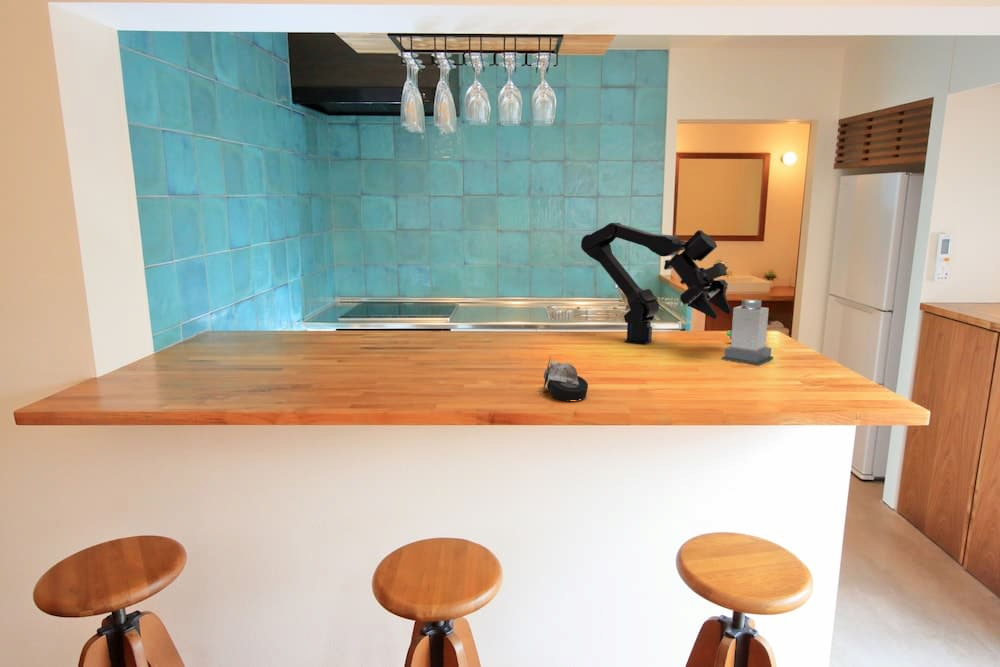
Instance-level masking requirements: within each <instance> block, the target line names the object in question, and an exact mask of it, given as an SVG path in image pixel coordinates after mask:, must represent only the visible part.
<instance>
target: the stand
mask: <svg viewBox="0 0 1000 667" xmlns="http://www.w3.org/2000/svg"><path fill="white" fill-rule="evenodd" d="M771 355H772V347H767V346H766V347H765V349H763V350H760V351H758V352H753V351H746V350H740V349H733V348H731V345H729V346H728V347H725V348H724V355H723V356H722V357H721V360H722V359H725V360H724V361H728V360H731V361H730V362H734V361H737V362H736V363H740V362H743V363H742V364H746V363H749V364H748V365H752V364H755V365H754V366H758V365H759V366H761V365H763V364H765V363H768V362H769V361H771V360H773V359H774V356H771ZM760 364H761V365H760Z"/></svg>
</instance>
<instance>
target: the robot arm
mask: <svg viewBox="0 0 1000 667" xmlns="http://www.w3.org/2000/svg"><path fill="white" fill-rule="evenodd" d="M616 239H621V240H624V241H627V242H629V243H630V242H631V243H634V244H636V245H640V246H643V247H645V248H647V249H648V250H649V251H651V252H652V253H654V254H656V255H657V256H660V257H672V258H670V259H665V260H664V265H663V266H664V267H663V270H674V272H675V273H676V274H677V276H678V277H679V278H680V281H679V283H680V284H681V285H685V286H686V287H687V289H686V290H685V291H683V292H682V293H681V294H680V295H679V297H680V298H679V299H680V302H681V303H682V304H683V305H684V306H685V305H686V306H687V307H690V308H692V309H694V310H697V311H698V312H700V313H702V314H704V315H706V316H708V317H710V318H711V319H714V320H715V319H717V318H718V314H717V313H716V311H715V309H714V307H713V306H715V307H716V308H718V309H720V310H721V311H722V312H724V313H725V314H727V315H730V314H732V313H733V312H732V310H731V307H730V306H731V305H730V304H729V302H728V299H727V296H726V293H727V291H728V286H729V284H728V282H727V281H726V280H725V279H717V278H720V277H725V276H727V275H728V273H727V270H728V266H726V264H725V263H722V262H720V261H719V262H717V263H714V264H712V266H711V267H708V268H704V267H699V266H698V264H697V263H696V261H698V262H702V261H703V260H705V258H707V257H708V256H709V255H710V254H711V253H712V252H713V251H714V250H716V248H717V247H718V246H717V242H716V241H715V240H714V238H713V237H711V236H709V235H708V234H707V233H705V232H704V231H703V230H697V231H696V232H694V234H693V235H692V236H691V237H690V238H689V239H688V240H686V241H685V240H681V239H680V237H679V236H677V235H674V234H673V235H671V234H661V233H660V234H659V233H652V232H648V231H645V230H642V229H638V228H635V227H631V226H628V225H625V224H622V223H620V222H610V223H608V224H607V225H605V226H604V227H602V228H600V229H598V230H595V231H594V232H592V233H589V234H586V235H584V236H583V237H582V239H581V241H580V242H581V244H580V248H581V250H582V252H584V253H585V254H586V255H588V256H589V257H590V258H591V259H593V260H594V261H596V262H598V263H599V264H600V265H601V266H602V268H604V270H605V272H606V273H607V274H608V276H610V278H611V279H612V280H613V282H614V283H615V284H616V285H617V287H618V288H619V289H620V290H621V292H622V293H623V294H624V296H625V297H626V299H627V305H628V308H629V310H628V311H627V312H626V313H625V314H624V315H623V318H624V319H623V320H624V322H625V323H627V326H626V339H625V340H624V342H625V343H633V344H640V345H646V344H648V343H650V342H651V341H653V327H652V326H651V325H652V324H651V323H652V322H651V321H653V320H654V318H655V315H657V314H658V313H659V310H660V303H659V301H658V299H659V298H658V297H656V296H655V295H654V293H653V291H652V290H651V289H650V288H646V289H642V288H641V287H639V285H638V284H637V283H636V281H635V280H634V278H632V276H631V275H630V274H629V272H627V270H626V268H624V266H623V265H622V264H621V263H620V261H619V260H618V259H617V258H616V256H615V255H614V254H613V251H612V246H611V243H613V242H614V241H615V240H616ZM681 251H682V252H681ZM680 252H681V253H680ZM711 304H712V305H713V306H712V305H711Z"/></svg>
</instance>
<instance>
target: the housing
mask: <svg viewBox="0 0 1000 667" xmlns="http://www.w3.org/2000/svg"><path fill="white" fill-rule="evenodd" d="M769 309H770V308H769V307H762V300H760V299H754V298H753V299H752V298H751V299H750V298H747V299H745V298H743V299H742V300H741V305H739V306H735V307H733V312H732V322H731V323H732V325H731V326H732V327H731V331H732V337H731V339H730V346H731V348H733V349H740V350H746V351H753V352H758V351H760V350H763V349H765V347H767V346H766V345H767V335H768V334H767V333H768V332H767V331H768V324H769V323H768V322H769V321H768V320H769Z"/></svg>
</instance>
